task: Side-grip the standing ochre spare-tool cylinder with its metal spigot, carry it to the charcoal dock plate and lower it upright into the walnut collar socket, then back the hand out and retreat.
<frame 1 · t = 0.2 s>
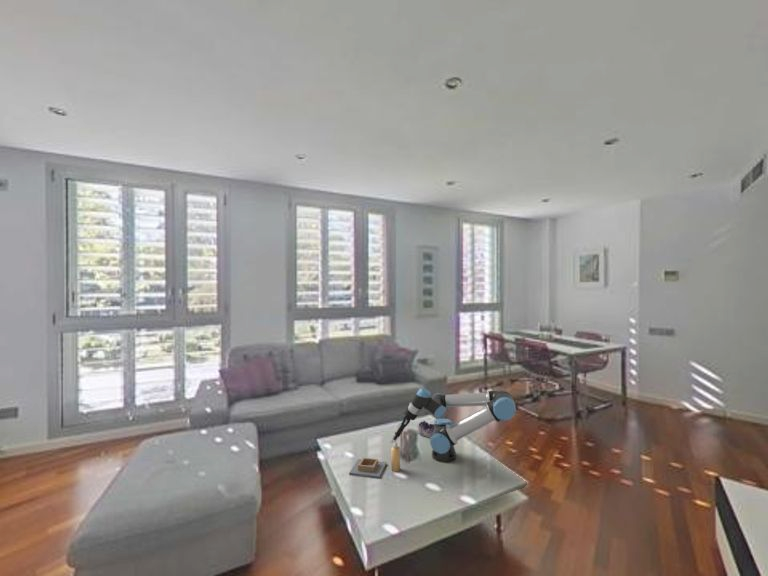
hand: (394, 438, 221), 15 cm above the table, fingers open, 13 cm apart
geode: (430, 436, 258), on the table
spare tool: (395, 469, 213), on the table
dock: (368, 469, 214), on the table
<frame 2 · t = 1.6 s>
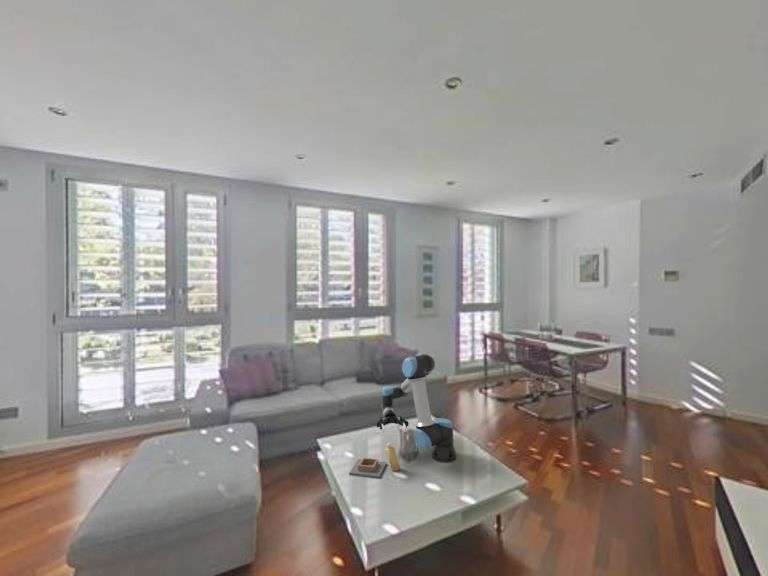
hand: (394, 430, 221), 20 cm above the table, fingers open, 13 cm apart
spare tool: (396, 468, 213), point 1 cm above the table, tilted 15°
everything else where it was.
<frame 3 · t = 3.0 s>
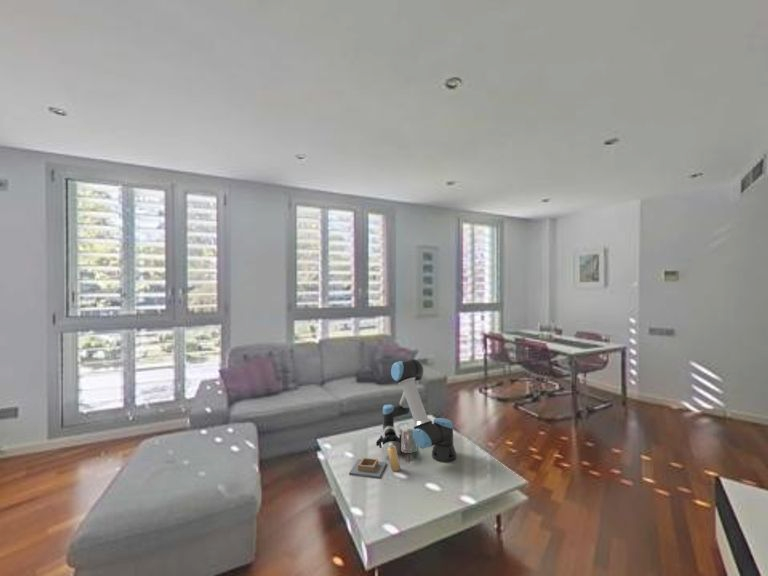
hand: (393, 448, 222), 8 cm above the table, fingers open, 13 cm apart
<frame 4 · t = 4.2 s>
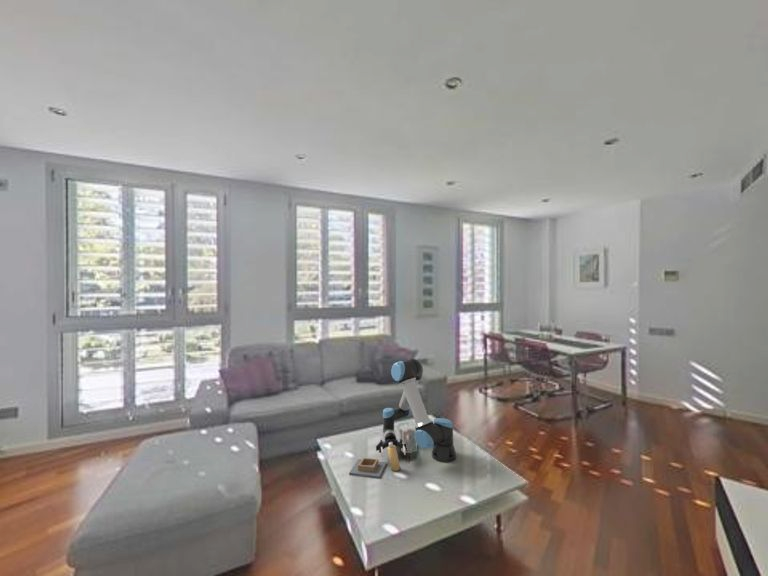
hand: (393, 453, 216), 8 cm above the table, fingers open, 13 cm apart
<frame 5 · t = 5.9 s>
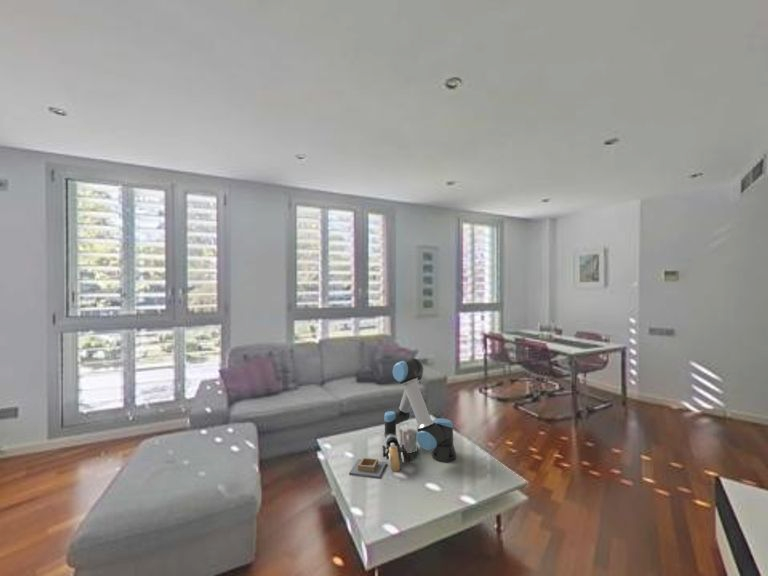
hand: (396, 460, 208), 8 cm above the table, fingers open, 7 cm apart
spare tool: (396, 469, 213), on the table, tilted 7°, touching gripper
everything else where it was.
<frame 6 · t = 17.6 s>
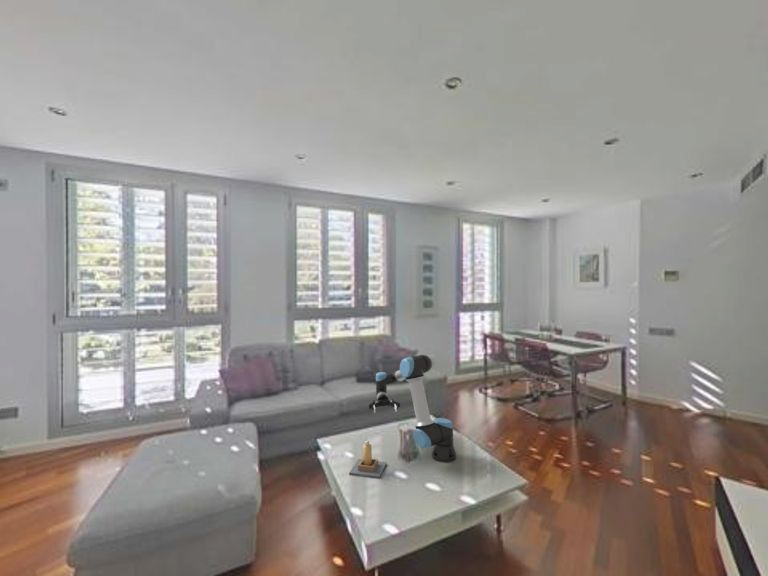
hand: (385, 410, 227), 30 cm above the table, fingers open, 13 cm apart
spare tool: (367, 467, 214), point 1 cm above the table, touching dock
at the end: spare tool 0.4 cm off-centre on the dock, point 1.2 cm above the dock's base; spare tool tilted 0°; the gripper is holding nothing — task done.
